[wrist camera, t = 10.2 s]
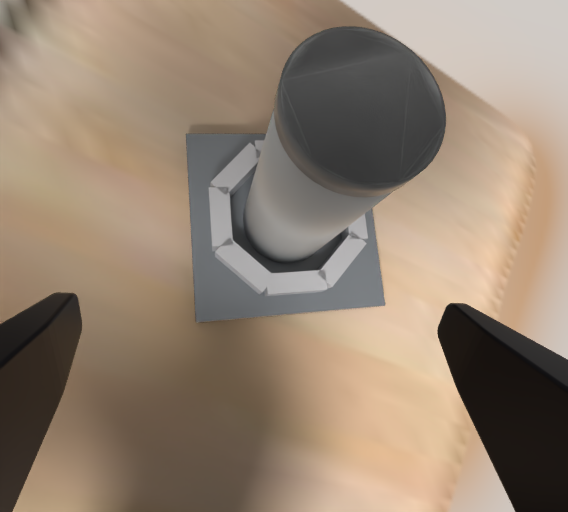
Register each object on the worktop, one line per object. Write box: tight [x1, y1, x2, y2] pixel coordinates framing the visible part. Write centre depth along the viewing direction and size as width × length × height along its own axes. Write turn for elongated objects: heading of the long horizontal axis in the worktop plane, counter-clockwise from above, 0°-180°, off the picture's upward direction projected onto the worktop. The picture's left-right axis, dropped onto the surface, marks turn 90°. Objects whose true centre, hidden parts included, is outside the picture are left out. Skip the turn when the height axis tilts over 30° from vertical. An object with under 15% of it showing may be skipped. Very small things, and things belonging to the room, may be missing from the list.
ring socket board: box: [186, 134, 385, 323], centre depth 21 cm, size 10×10×2 cm
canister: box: [243, 27, 446, 263], centre depth 16 cm, size 5×5×11 cm
